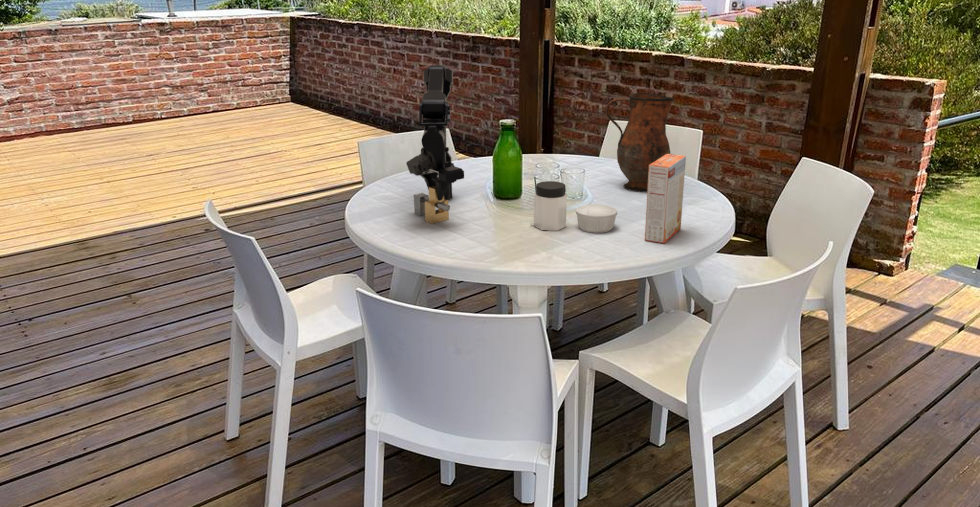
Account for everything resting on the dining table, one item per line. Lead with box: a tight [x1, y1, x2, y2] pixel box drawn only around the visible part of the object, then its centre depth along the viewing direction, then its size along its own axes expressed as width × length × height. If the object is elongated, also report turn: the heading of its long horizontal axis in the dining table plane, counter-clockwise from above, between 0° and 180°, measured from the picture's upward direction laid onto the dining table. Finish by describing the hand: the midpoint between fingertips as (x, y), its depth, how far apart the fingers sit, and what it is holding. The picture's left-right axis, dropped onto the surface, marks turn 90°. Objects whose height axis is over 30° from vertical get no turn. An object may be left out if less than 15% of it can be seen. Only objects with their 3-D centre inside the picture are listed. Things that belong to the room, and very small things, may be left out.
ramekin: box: [575, 204, 618, 234], centre depth 216 cm, size 11×11×5 cm
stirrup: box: [424, 186, 450, 225], centre depth 220 cm, size 6×3×10 cm, turn 130°
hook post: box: [413, 192, 451, 218], centre depth 222 cm, size 4×15×6 cm, turn 40°
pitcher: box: [605, 92, 675, 193], centre depth 250 cm, size 17×21×30 cm
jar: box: [533, 180, 568, 232], centre depth 216 cm, size 9×8×12 cm
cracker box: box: [644, 153, 687, 244], centre depth 207 cm, size 14×6×21 cm, turn 149°
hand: (436, 198), depth 219 cm, fingers closed on stirrup, 3 cm apart
